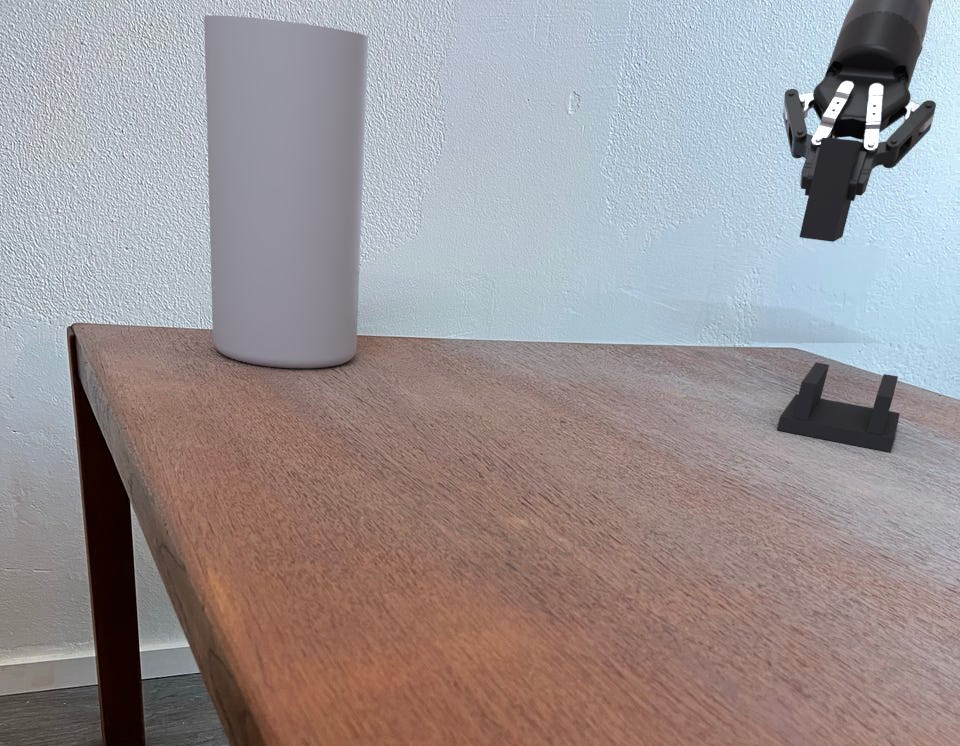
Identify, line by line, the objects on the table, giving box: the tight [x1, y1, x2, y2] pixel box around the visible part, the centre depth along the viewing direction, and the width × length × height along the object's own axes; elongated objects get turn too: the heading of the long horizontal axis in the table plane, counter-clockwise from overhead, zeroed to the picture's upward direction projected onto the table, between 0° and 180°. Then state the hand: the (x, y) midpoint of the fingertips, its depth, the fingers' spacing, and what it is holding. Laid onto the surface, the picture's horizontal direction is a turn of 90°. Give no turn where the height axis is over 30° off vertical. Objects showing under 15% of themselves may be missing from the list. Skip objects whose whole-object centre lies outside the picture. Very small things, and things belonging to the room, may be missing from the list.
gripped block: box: [799, 137, 864, 243], centre depth 89 cm, size 8×3×8 cm, turn 156°
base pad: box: [776, 362, 901, 453], centre depth 83 cm, size 10×9×4 cm
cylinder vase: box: [203, 14, 369, 369], centre depth 82 cm, size 12×12×25 cm
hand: (830, 190), depth 87 cm, fingers closed on gripped block, 3 cm apart
